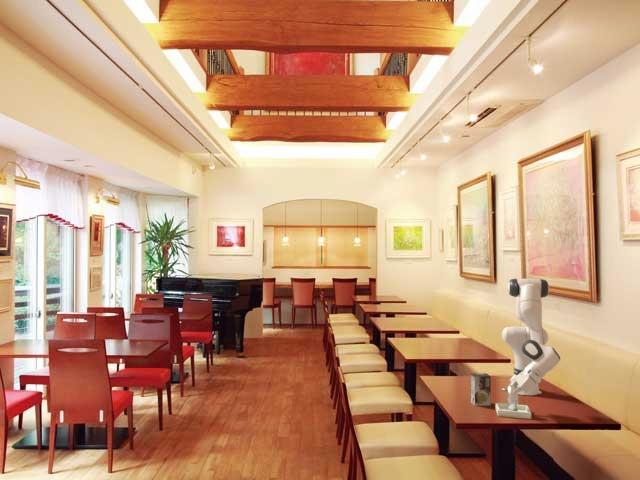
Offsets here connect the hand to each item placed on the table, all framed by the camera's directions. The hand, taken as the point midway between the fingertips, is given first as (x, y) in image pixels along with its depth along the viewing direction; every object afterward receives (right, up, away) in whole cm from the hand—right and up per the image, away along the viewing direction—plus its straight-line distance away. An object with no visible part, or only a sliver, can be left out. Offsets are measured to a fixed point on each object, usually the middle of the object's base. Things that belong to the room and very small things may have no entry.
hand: (512, 390), depth 262 cm
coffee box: (-12, -12, +16) cm, 23 cm away
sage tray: (0, -12, 0) cm, 12 cm away
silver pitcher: (-2, -11, 0) cm, 11 cm away
